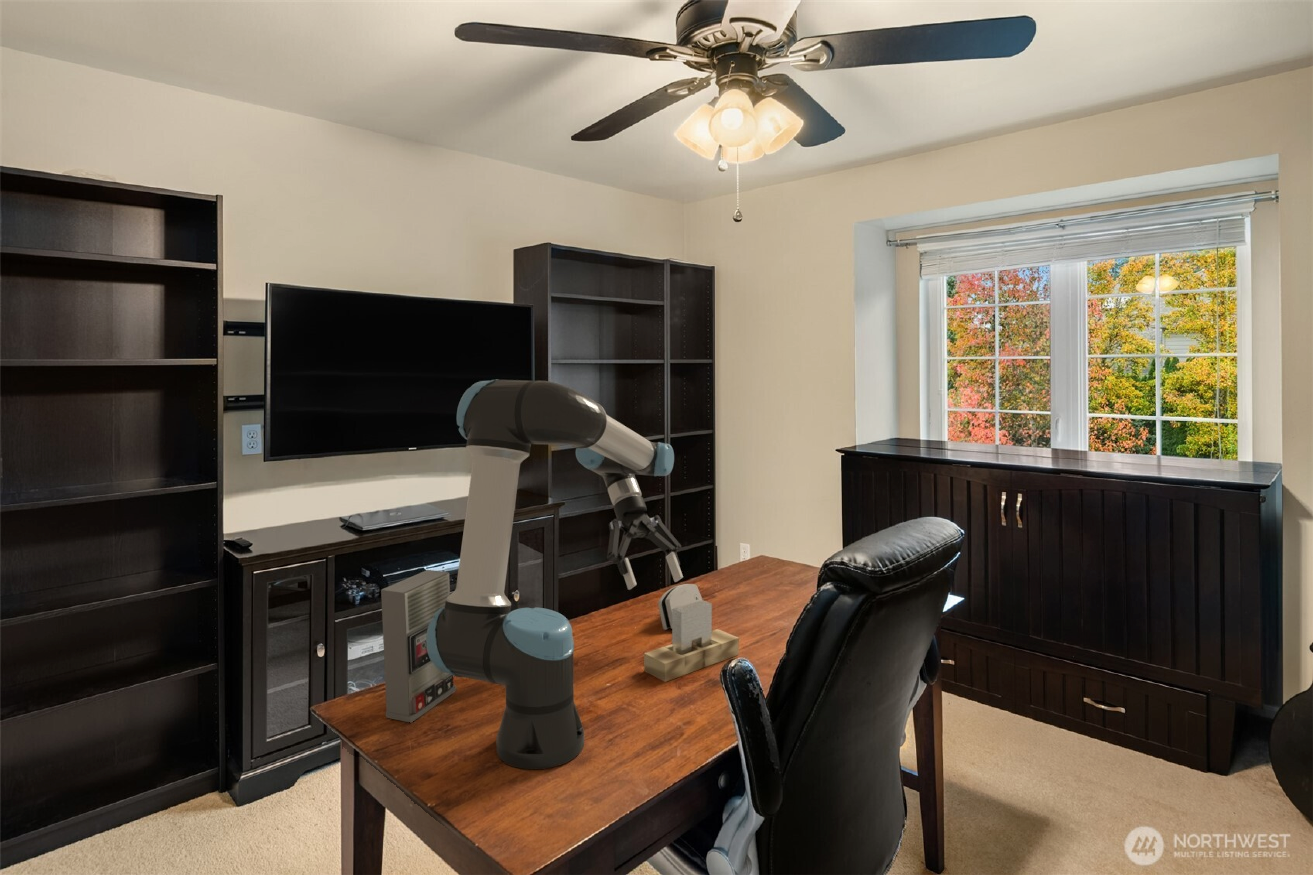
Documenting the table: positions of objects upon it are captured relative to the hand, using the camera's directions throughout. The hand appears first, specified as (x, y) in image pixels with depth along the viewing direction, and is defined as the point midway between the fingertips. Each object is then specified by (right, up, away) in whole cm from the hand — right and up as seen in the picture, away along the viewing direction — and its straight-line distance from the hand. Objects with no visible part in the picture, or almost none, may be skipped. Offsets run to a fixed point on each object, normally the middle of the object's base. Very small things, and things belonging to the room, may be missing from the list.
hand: (656, 583), depth 168 cm
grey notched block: (+8, -16, -6) cm, 19 cm away
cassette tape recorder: (-46, -19, -25) cm, 56 cm away
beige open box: (+8, -16, -6) cm, 19 cm away
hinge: (+7, -14, +21) cm, 26 cm away
